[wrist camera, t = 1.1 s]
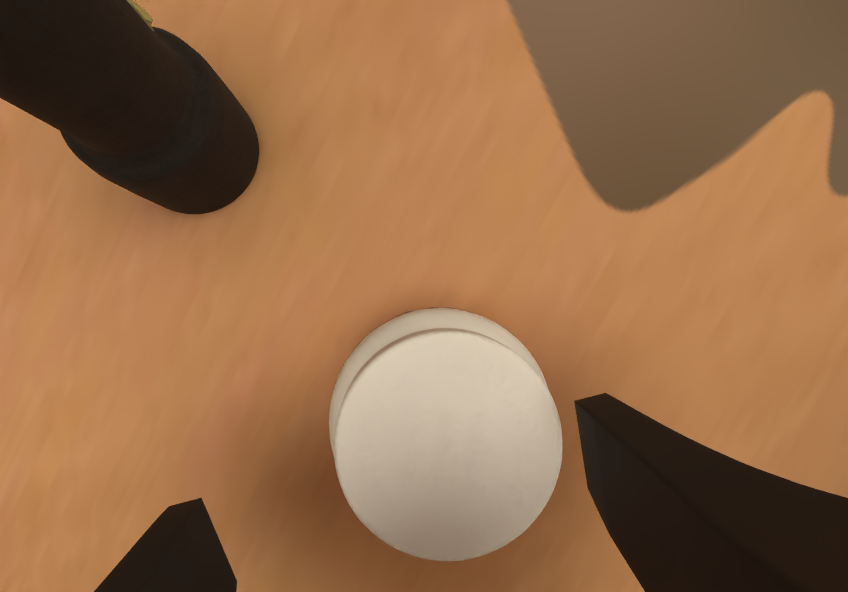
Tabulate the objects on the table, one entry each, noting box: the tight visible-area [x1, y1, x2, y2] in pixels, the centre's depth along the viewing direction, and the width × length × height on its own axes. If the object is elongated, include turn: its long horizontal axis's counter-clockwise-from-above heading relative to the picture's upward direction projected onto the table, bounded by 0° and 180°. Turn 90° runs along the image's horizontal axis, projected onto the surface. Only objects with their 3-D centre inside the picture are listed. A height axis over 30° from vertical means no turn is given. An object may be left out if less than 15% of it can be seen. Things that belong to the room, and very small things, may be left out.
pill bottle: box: [329, 308, 562, 561], centre depth 20 cm, size 6×6×11 cm
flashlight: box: [0, 0, 259, 214], centre depth 14 cm, size 5×24×5 cm
